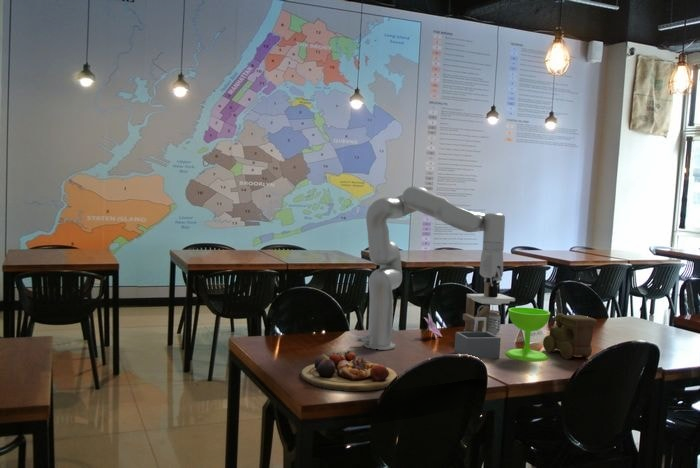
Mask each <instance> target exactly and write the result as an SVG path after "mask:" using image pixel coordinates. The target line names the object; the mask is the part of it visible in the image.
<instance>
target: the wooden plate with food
mask: <svg viewBox="0 0 700 468" xmlns="http://www.w3.org/2000/svg"><path fill="white" fill-rule="evenodd" d="M356 357H357V356H356V353H355V352H354V351H350V350H347V352H345V351H344V354H343V353H339V352H337V353H336V352H333V353H332V354H330V355H329V356H327V355H326V354H324V353H322V354H320V355H319V356H318V357H317V358H316V359H315V360H314V363H312V364H309V365H307V366H306V367H304V368H303V369H302V370H301V373H300V375H301V378H302V380H303V379H304V380H305V382H306V381H307V382H308V384H309V383H311V384H313V385H312V386H314V385H316V386H315V387H317V386H319V387H318V388H321V387H323V388H322V389H325V388H327V390H331V389H335V390H334V391H341V390H344V392H366V391H367V392H368V391H376V390H383V389H385V387H386V386H387V385H388V384H389V383H390V382H391V381H392V380H393V379H394V378H395V377H396V376H397V377H398V374H397V372H396V371H395V370H393V369H391V368H390V367H387V366H386V365H383V364H379V363H372V362H370V361H366V360H365V359H364V357H358V358H356ZM304 380H303V381H304ZM307 382H306V383H307ZM311 384H310V385H311ZM386 388H387V387H386Z"/></svg>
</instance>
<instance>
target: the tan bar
mask: <svg viewBox="0 0 700 468" xmlns="http://www.w3.org/2000/svg"><path fill="white" fill-rule="evenodd" d="M462 321H464V322H465V321H467V322H469V323H471V324H473V326H474V325H475V316H474V317H473V316H471V315H469V314H466V313H462ZM478 327H484V321H482V320H478Z"/></svg>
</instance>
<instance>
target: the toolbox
mask: <svg viewBox="0 0 700 468" xmlns="http://www.w3.org/2000/svg"><path fill="white" fill-rule="evenodd" d="M474 317H475V316H474ZM478 320H483V321H484V327H483V328H482V332H478ZM473 329H474V332H463V331H455V334H454V335H455V336H454V353H456V354H457V353H460V354H468V355H472V356H475V357H478V358H480V360H482V359H483V360H484V359H485V360H486V359H490V360H493V359H500V355H501V337H499V336H497V335H494V334H492V333H490V332H486V317H475V325H473Z"/></svg>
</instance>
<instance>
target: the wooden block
mask: <svg viewBox="0 0 700 468" xmlns="http://www.w3.org/2000/svg"><path fill="white" fill-rule="evenodd" d="M475 302H476V301H474V300H472V298H469V297H467V296H466V302H465V303H466V305H465V314H469V315H471V316H473V317H486V332H488V327H489V325H490V324H489V322H490V321H489V320H490V318H489V311H490V310H491V308H490V305H487V304H484V306H483V307H481V308H480V309H481V310H479V313H478V314H477V313H476V315H475V306H476V305H475V304H476V303H475ZM482 321H483V320H482ZM464 323H465V325H464V328H463V331H462V332H474V325H473V324H471V323H469V322H467V321H465V320H464ZM482 328H483V327H478V332H482Z"/></svg>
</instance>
